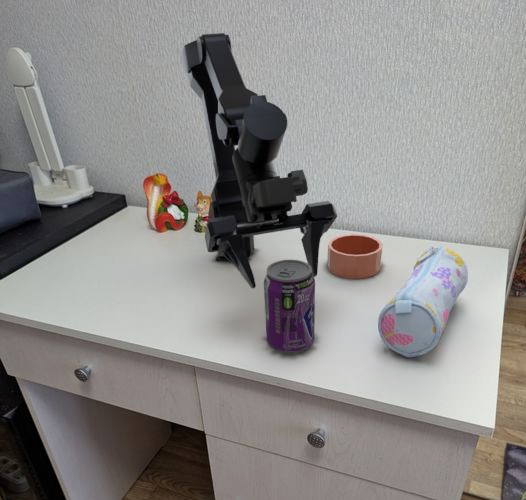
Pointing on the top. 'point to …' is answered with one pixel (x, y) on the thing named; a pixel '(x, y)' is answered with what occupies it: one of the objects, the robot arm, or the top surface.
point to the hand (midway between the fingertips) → (285, 281)
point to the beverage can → (289, 305)
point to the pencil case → (423, 303)
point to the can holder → (354, 256)
